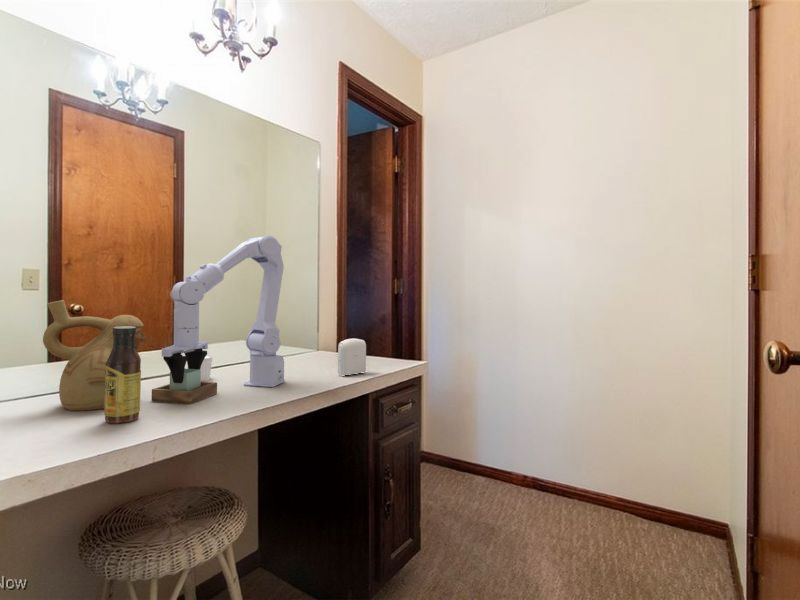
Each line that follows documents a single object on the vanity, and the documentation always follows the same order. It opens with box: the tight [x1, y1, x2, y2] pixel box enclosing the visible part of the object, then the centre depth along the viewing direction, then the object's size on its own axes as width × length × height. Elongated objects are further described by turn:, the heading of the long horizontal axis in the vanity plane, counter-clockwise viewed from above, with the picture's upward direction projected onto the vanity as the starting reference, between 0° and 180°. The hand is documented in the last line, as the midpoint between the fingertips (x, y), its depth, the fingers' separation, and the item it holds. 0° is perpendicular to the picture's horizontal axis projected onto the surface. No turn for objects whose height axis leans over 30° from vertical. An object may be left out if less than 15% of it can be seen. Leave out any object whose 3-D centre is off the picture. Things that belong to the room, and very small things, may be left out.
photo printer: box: [337, 337, 367, 376], centre depth 135 cm, size 10×4×12 cm, turn 133°
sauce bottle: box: [103, 326, 142, 425], centre depth 84 cm, size 7×6×20 cm
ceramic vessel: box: [42, 299, 147, 411], centre depth 95 cm, size 17×20×25 cm
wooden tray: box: [151, 381, 218, 405], centre depth 102 cm, size 11×11×3 cm
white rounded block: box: [200, 355, 213, 382], centre depth 123 cm, size 7×7×7 cm
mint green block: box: [169, 368, 201, 391], centre depth 102 cm, size 5×5×4 cm
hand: (185, 380), depth 102 cm, fingers closed on mint green block, 5 cm apart
